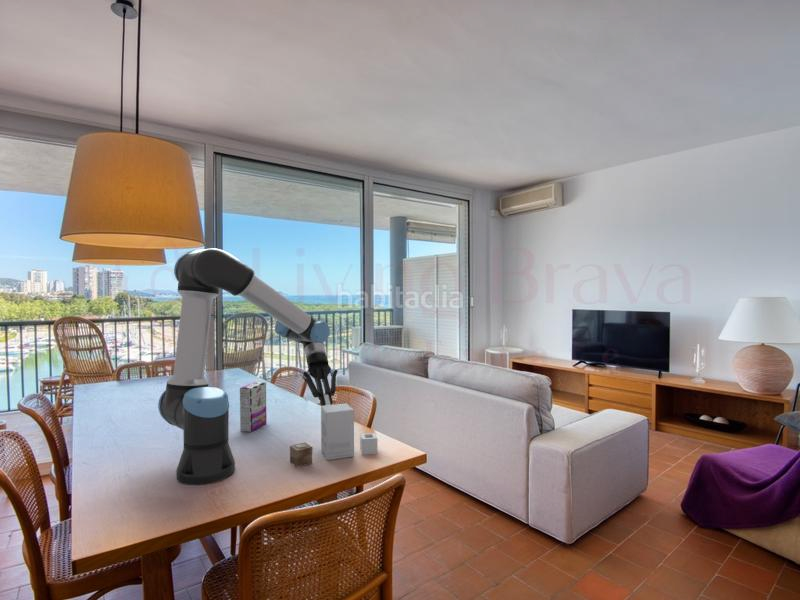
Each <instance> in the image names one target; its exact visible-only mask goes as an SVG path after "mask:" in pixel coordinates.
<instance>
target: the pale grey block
mask: <svg viewBox="0 0 800 600" xmlns="http://www.w3.org/2000/svg"><path fill="white" fill-rule="evenodd" d="M359 438H360V439H359V444H360V445H359V450H360V453H361V455H375V454H376V455H377V454H378V436H377V434H376V433H375V432H374V433H373V432H372V433H360V436H359Z"/></svg>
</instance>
